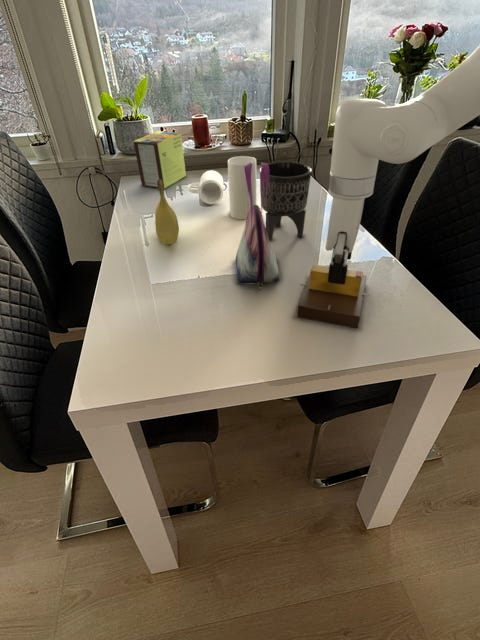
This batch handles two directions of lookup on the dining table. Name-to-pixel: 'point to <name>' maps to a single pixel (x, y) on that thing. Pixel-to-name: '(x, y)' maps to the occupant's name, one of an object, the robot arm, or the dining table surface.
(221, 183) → the mug
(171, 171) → the protein box
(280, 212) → the planter
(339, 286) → the yellow block
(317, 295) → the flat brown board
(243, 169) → the cup
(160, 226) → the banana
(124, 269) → the dining table surface
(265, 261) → the handbag
